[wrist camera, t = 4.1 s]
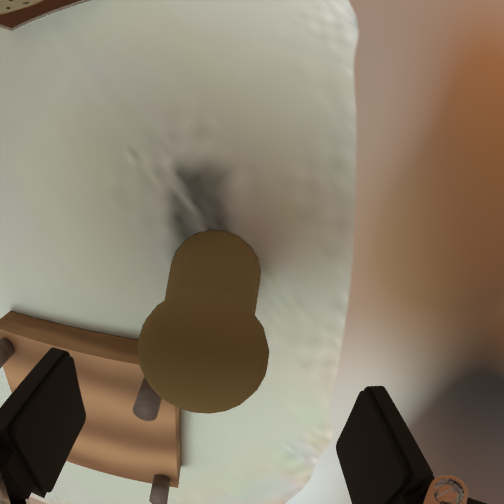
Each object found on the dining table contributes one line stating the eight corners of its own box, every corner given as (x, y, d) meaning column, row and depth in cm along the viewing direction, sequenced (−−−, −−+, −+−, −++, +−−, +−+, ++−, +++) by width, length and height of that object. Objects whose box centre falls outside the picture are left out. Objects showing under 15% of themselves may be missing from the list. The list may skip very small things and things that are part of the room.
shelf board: (10, 310, 21) (-29, 343, 15) (181, 346, 22) (167, 399, 16) (46, 432, 25) (27, 467, 19) (180, 466, 26) (175, 510, 21)
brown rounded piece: (263, 311, 22) (286, 428, 11) (178, 318, 22) (142, 433, 11) (257, 226, 20) (282, 295, 10) (164, 234, 20) (97, 307, 9)
